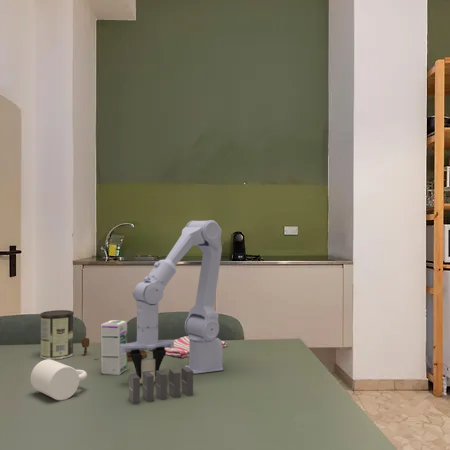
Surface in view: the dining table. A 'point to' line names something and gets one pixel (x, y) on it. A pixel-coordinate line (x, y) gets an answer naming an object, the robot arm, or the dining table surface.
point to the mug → (56, 379)
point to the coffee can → (56, 334)
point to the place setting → (86, 342)
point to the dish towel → (182, 347)
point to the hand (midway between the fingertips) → (147, 376)
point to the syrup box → (113, 347)
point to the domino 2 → (147, 367)
